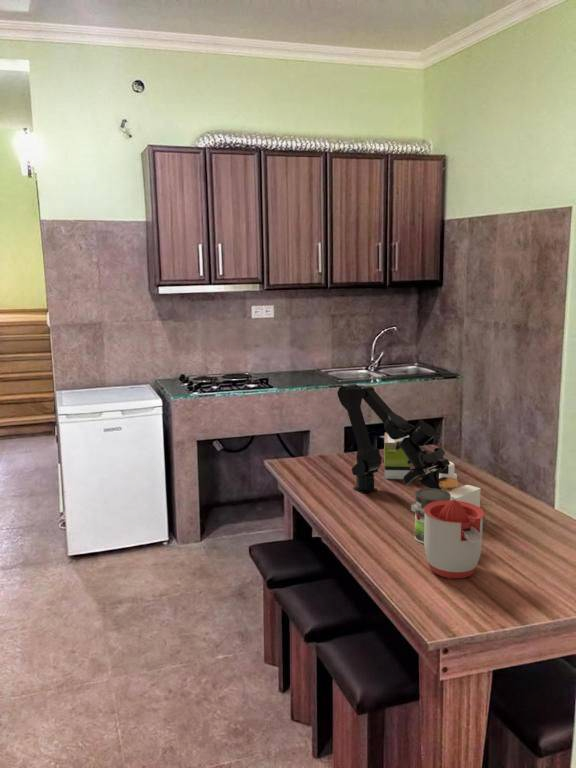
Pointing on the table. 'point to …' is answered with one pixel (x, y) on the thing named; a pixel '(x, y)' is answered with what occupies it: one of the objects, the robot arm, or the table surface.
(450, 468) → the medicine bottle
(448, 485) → the knob
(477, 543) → the citrus juicer
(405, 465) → the tea box
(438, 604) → the table surface
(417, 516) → the coffee can
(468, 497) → the knob mount
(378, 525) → the table surface
